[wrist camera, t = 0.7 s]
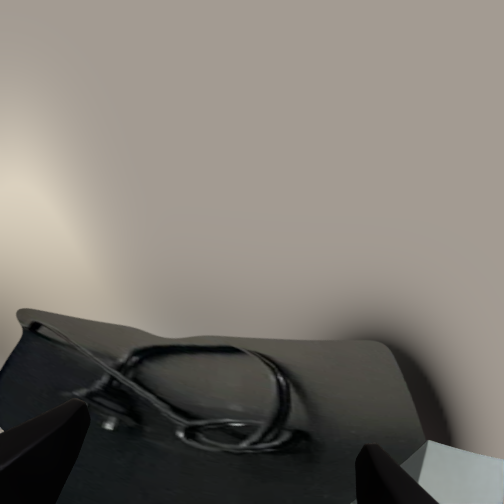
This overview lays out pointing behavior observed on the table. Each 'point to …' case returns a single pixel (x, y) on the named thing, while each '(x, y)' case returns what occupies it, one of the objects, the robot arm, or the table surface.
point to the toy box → (456, 475)
